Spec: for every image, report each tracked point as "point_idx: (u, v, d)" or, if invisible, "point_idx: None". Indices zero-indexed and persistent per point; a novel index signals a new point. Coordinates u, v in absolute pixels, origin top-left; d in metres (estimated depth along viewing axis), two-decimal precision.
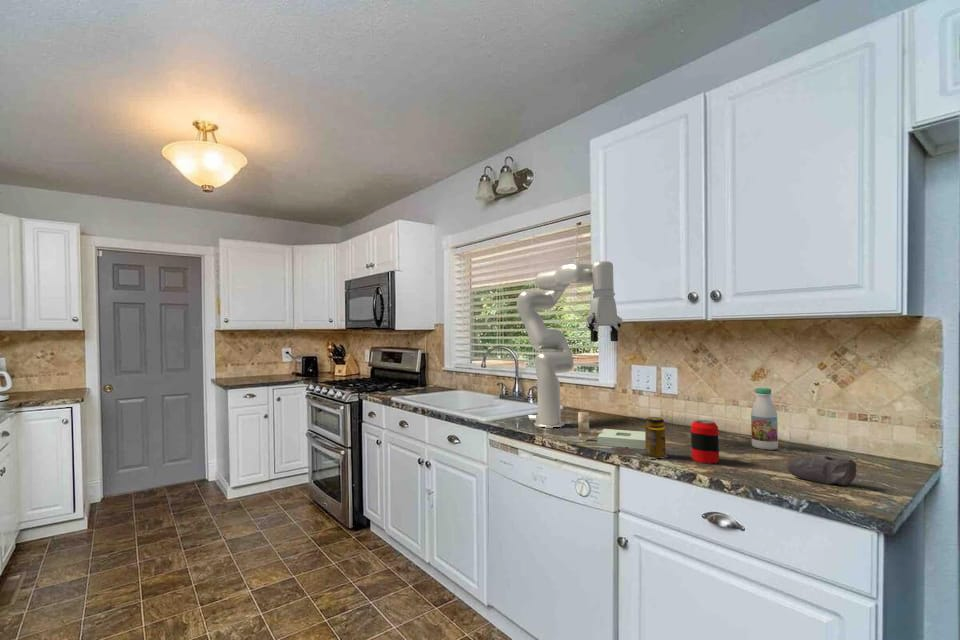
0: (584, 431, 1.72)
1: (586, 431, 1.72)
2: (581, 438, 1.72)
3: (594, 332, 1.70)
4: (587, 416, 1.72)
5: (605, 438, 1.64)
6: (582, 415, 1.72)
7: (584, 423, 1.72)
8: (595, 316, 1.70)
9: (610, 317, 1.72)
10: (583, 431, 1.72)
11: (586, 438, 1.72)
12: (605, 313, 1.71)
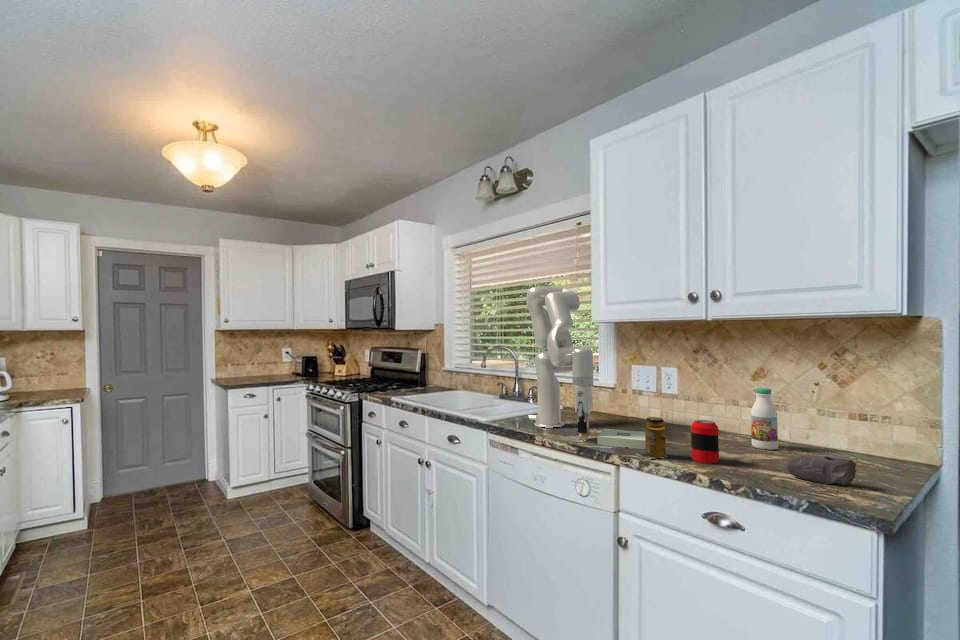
0: None
1: None
2: (581, 438, 1.72)
3: None
4: (587, 416, 1.72)
5: (605, 438, 1.64)
6: None
7: None
8: None
9: None
10: None
11: (586, 438, 1.72)
12: None
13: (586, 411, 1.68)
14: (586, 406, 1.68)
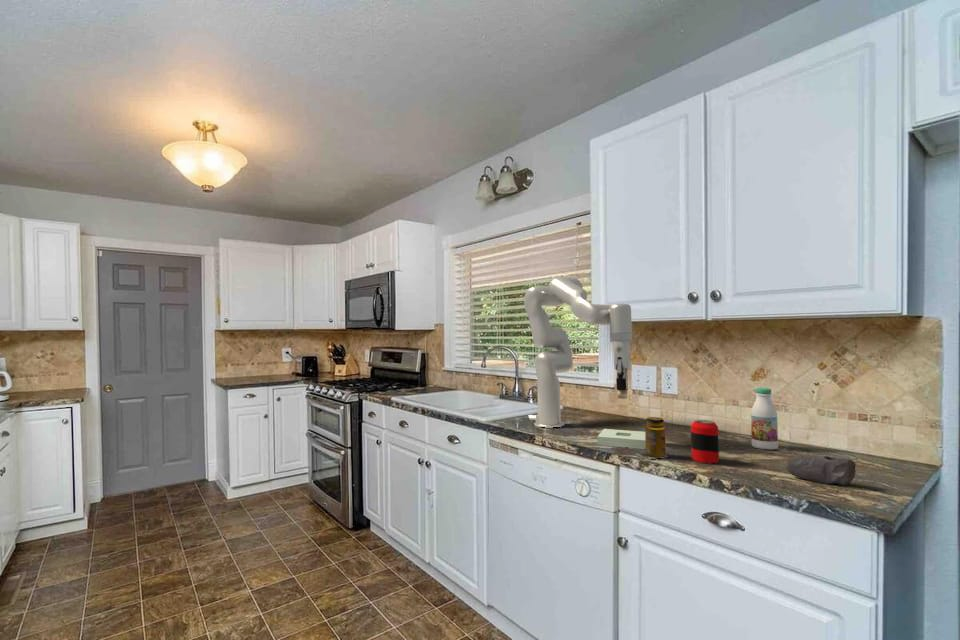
0: None
1: None
2: (620, 396, 1.68)
3: None
4: (626, 373, 1.68)
5: (605, 438, 1.64)
6: None
7: None
8: None
9: None
10: None
11: (625, 395, 1.68)
12: None
13: (626, 367, 1.64)
14: (626, 361, 1.64)
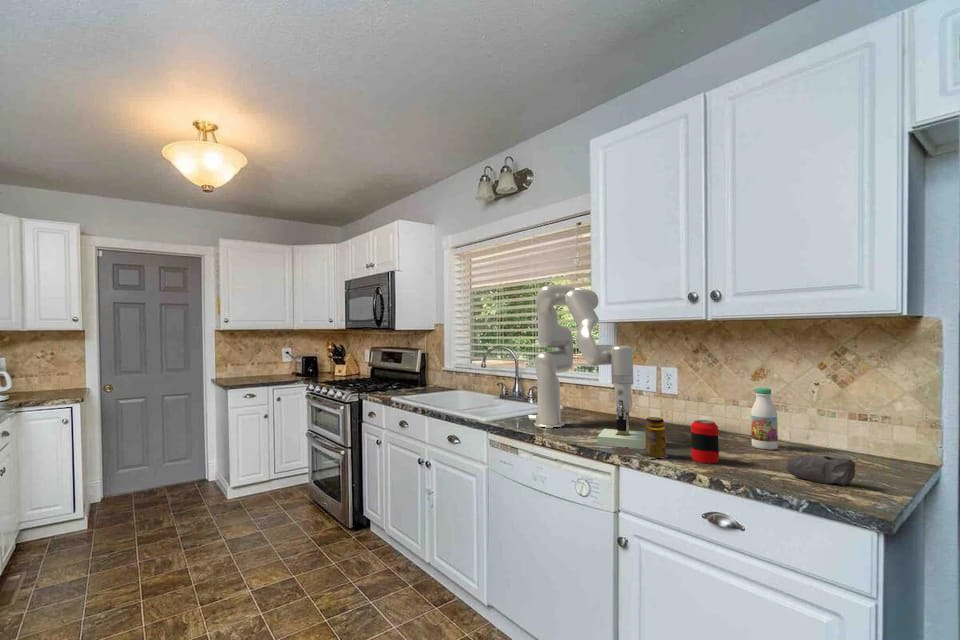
0: (624, 433, 1.67)
1: (626, 433, 1.67)
2: None
3: None
4: (627, 418, 1.68)
5: (605, 438, 1.64)
6: None
7: None
8: None
9: None
10: (623, 433, 1.67)
11: None
12: None
13: (627, 410, 1.64)
14: (627, 405, 1.64)
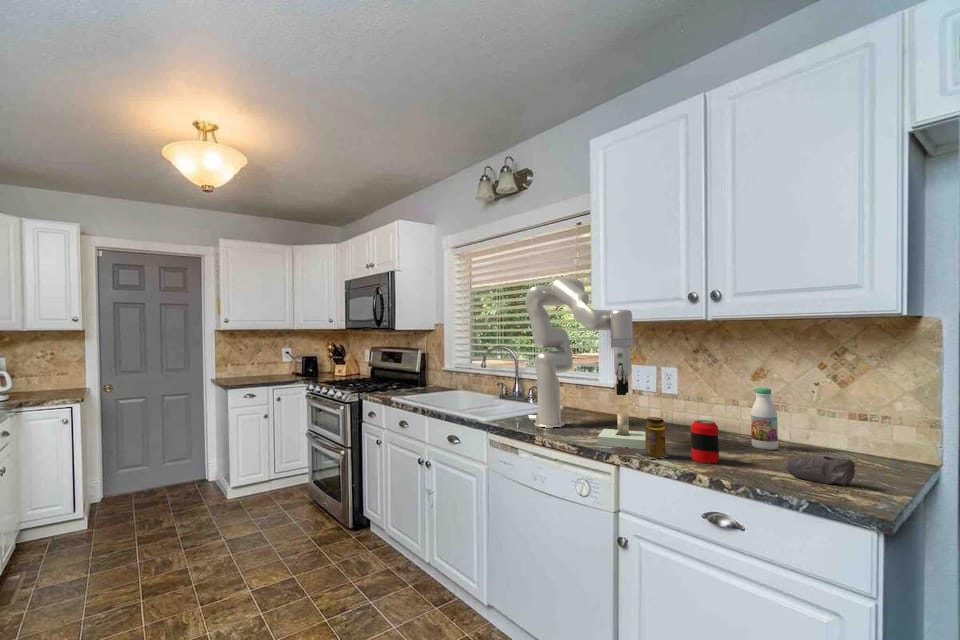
0: (624, 433, 1.67)
1: (626, 433, 1.67)
2: None
3: None
4: (627, 418, 1.68)
5: (605, 438, 1.64)
6: (622, 417, 1.67)
7: (624, 425, 1.67)
8: None
9: None
10: (623, 433, 1.67)
11: None
12: None
13: (626, 373, 1.64)
14: (626, 368, 1.64)
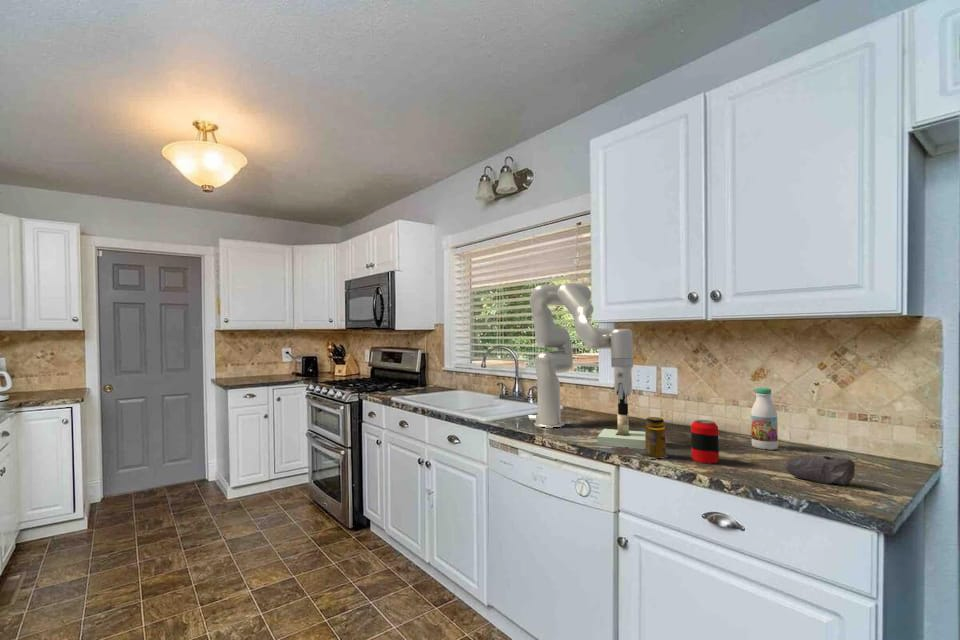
0: (624, 433, 1.67)
1: (626, 433, 1.67)
2: None
3: None
4: (627, 418, 1.68)
5: (605, 438, 1.64)
6: (622, 417, 1.67)
7: (624, 425, 1.67)
8: None
9: None
10: (623, 433, 1.67)
11: None
12: None
13: (627, 393, 1.64)
14: (627, 387, 1.64)
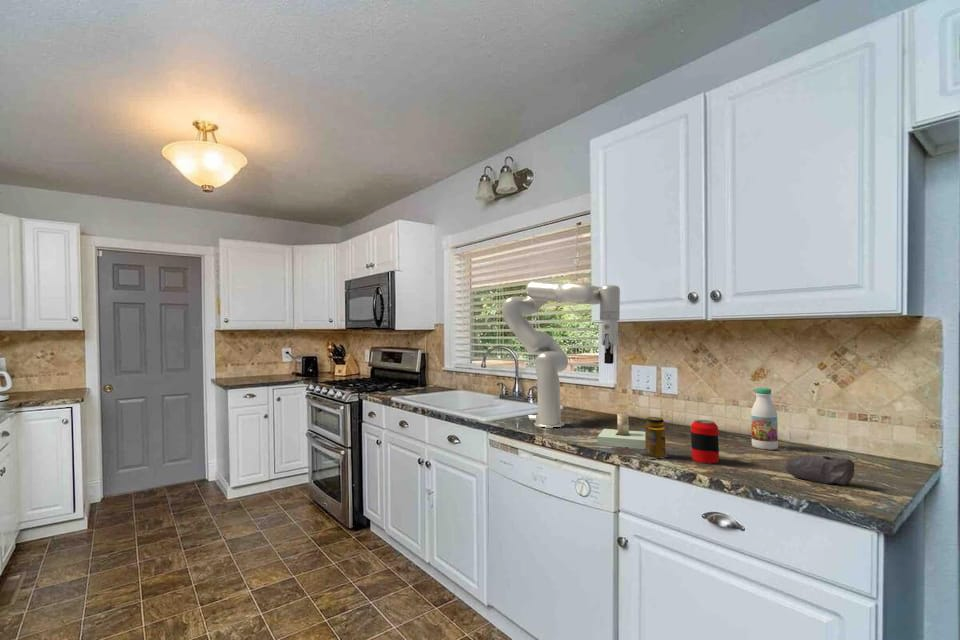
0: (624, 433, 1.67)
1: (626, 433, 1.67)
2: None
3: None
4: (627, 418, 1.68)
5: (605, 438, 1.64)
6: (622, 417, 1.67)
7: (624, 425, 1.67)
8: None
9: None
10: (623, 433, 1.67)
11: None
12: None
13: (612, 342, 1.80)
14: (612, 338, 1.80)
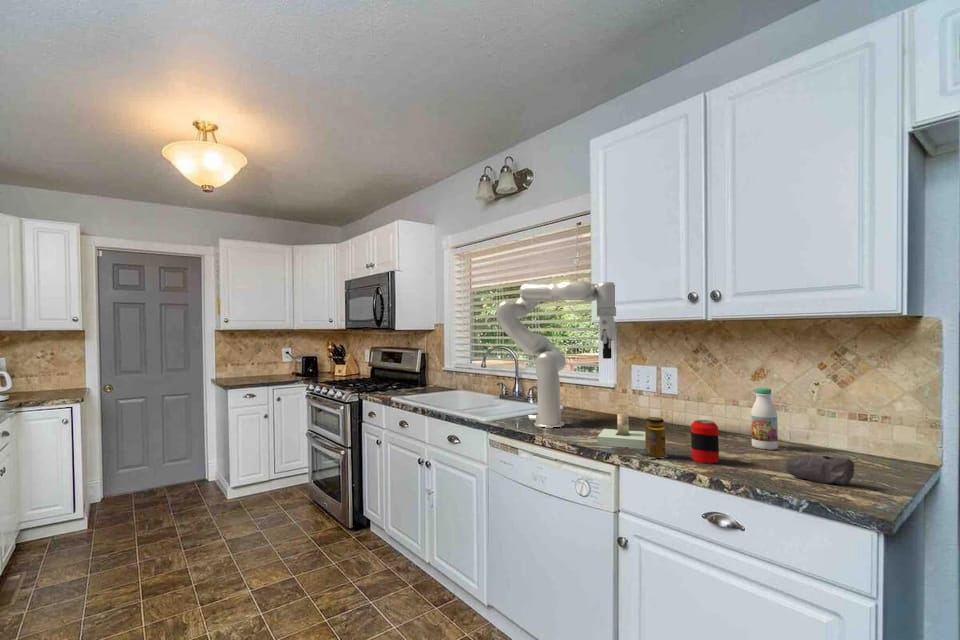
0: (624, 433, 1.67)
1: (626, 433, 1.67)
2: None
3: None
4: (627, 418, 1.68)
5: (605, 438, 1.64)
6: (622, 417, 1.67)
7: (624, 425, 1.67)
8: None
9: None
10: (623, 433, 1.67)
11: None
12: None
13: (610, 337, 1.84)
14: (610, 333, 1.84)
